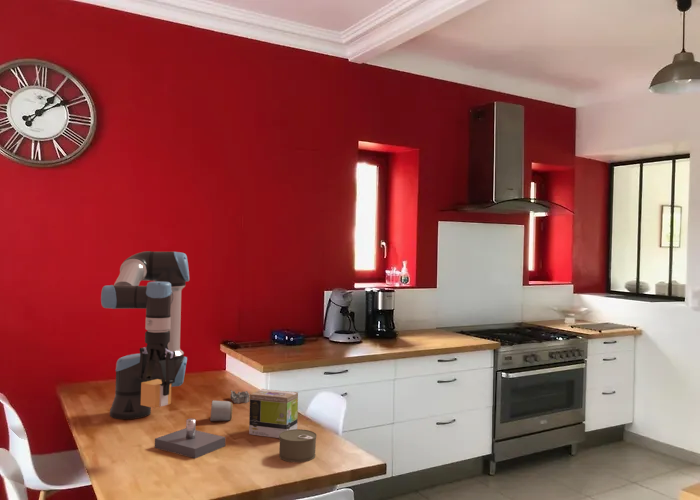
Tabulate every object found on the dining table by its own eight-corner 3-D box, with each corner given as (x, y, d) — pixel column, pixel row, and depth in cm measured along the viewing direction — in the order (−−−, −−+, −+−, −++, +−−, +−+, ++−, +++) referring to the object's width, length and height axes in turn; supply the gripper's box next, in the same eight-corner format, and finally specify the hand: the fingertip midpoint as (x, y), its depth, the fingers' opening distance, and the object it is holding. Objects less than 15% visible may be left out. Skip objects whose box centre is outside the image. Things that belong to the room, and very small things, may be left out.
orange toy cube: (140, 404, 180) (141, 382, 180) (156, 400, 185) (157, 379, 185) (154, 408, 176) (155, 385, 176) (170, 403, 182) (171, 381, 182)
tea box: (298, 432, 210) (299, 391, 210) (286, 440, 200) (287, 397, 200) (261, 427, 214) (262, 387, 215) (248, 434, 205) (249, 393, 205)
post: (183, 438, 190) (184, 420, 190) (190, 435, 193) (191, 418, 193) (190, 439, 188) (191, 421, 189) (197, 437, 191) (197, 419, 191)
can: (293, 447, 193) (293, 427, 193) (323, 454, 187) (323, 433, 187) (270, 457, 183) (271, 436, 183) (301, 465, 177) (302, 443, 177)
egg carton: (229, 398, 256) (229, 389, 256) (246, 397, 259) (246, 388, 259) (233, 404, 246) (233, 394, 246) (250, 403, 249) (250, 393, 249)
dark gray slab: (154, 447, 189) (154, 438, 189) (186, 436, 201) (186, 428, 201) (195, 458, 180) (195, 448, 180) (225, 446, 192) (225, 437, 192)
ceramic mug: (232, 422, 219) (232, 402, 219) (210, 423, 217) (210, 403, 217) (231, 415, 229) (232, 396, 229) (210, 416, 227) (211, 396, 228)
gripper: (127, 329, 182) (125, 401, 182) (170, 334, 173) (168, 411, 173) (146, 326, 189) (144, 396, 189) (188, 332, 179) (186, 405, 179)
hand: (155, 403), depth 181 cm, fingers closed on orange toy cube, 6 cm apart
